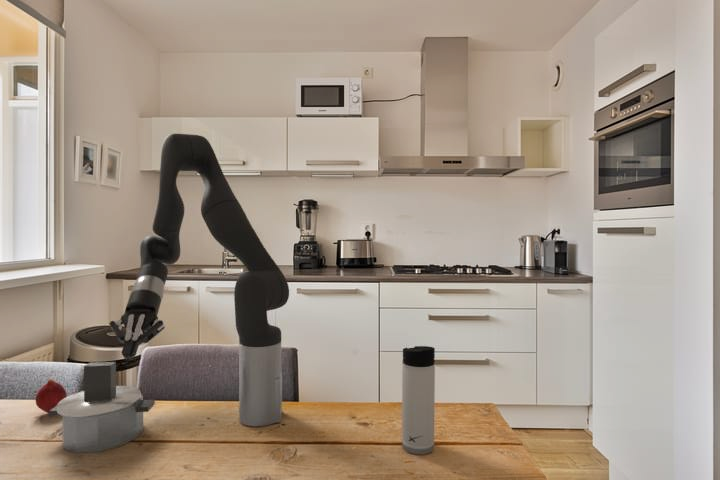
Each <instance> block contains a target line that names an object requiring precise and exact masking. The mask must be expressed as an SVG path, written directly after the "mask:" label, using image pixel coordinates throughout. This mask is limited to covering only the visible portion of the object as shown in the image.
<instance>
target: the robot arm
mask: <svg viewBox="0 0 720 480" xmlns="http://www.w3.org/2000/svg"><path fill="white" fill-rule="evenodd" d="M162 143H163V144H162V146H161V153H160V155H161V156H160V164H159V165H160V166H159V167H160V168H159V182H158V183H159V184H158V186H159V188H158V200H157V205H156V211H155V215H154V218H153V223H152V231H153V232H154V234H155V235H148V236H146V237H144V238H143V239H142V241H141V243H140V249H139V251H140V252H139V253H140V267H139V271H138V274H137V277H136V280H135V282H134V284H133V286H132V288H131V292H130V294H129V298H128V300H127V303H126V307H125V310H124V313H123V314H122V315H121V317H120V319H118V320H116V321H114V320H111V321H109V325H110V328H111V330H112V331H113V333H114V334H115V336H116V337H117V339H118V341H119V343H120V344H123V347H122V350H121V355H122V356H123V358H124V359H125V360H132V359H133V358H134V357H136V356H137V352H138V349H139V346H140V345H141V344H147V343H149V342H150V341H151V340H152V339H153V338H155V337H156V336H157V335H158V334H160V333H161V332H162V331H163V330H164V329H165V328H166V327H165V323H164V322H163V320H161V319H159V317H158V314H159V311H160V306H161V304H162V300H163V298H164V291H165V285H166V282H167V278H168V273H169V269H168V267H167V265H174V264H175V263H177V262H178V260H179V259H180V256H181V242H180V241H181V240H180V231H181V227H182V223H183V220H184V216H185V205H184V204H185V203H184V201H183V198H182V197H181V194H180V192H179V189H178V185H177V178H178V175H179V172H197V173H198V175H199V176H200V177H201V180H202V181H203V184H204V190H203V191H204V192H203V195H202V200H201V205H200V212H201V213H200V214H201V216H202V219H203V222H204V224H206V227H207V229H208V231H209V233H210V234H211V236H212V237H213V238H214V240H215V241H216V242H218V244H220V245H221V246H222V247H223V248H225V250H227V251H228V252H229V253H231V254H232V255H233V256H234V257H236V258H237V259H238V260H239V261H240V262H241V263H242V264H243V265H244V266H245V269H246V270H247V271H246V272H243V273H242V274H241V275H239V276H238V277H237V280H236V282H235V286H234V292H233V293H234V316H235V317H234V318H235V327H236V332H237V335H238V338H239V339H238V342H239V343H238V347H239V348H238V351H239V352H238V356H239V358H238V359H239V360H238V361H239V362H238V363H239V365H238V367H239V368H238V369H239V370H238V373H239V376H238V377H239V378H238V384H239V385H238V388H239V389H238V391H239V393H238V394H239V395H238V396H239V397H238V403H239V404H238V405H239V406H238V407H239V409H238V413H239V415H238V416H239V417H238V419H239V422H240V423H241V424H242V425H245V426H247V427H265V426H269V425H272V424H273V425H274V424H276V423H277V424H278V423H281V421H282V413H283V372H282V331H281V328H280V327H278V326H276V325H271V324H270V323H269V321H268V312H269V311H272V310H277V309H279V308H282V307H284V306H285V305H286V304H287V302H288V300H289V298H290V297H289V296H290V288H289V287H290V286H289V283H288V281H287V279H286V276H285V275H284V272H282V270H281V269H280V267H279V266H278V264H277V263H276V262H275V260H274V259H273V258H272V256H271V255H270V254H269V253H270V252H268V251H267V249H266V248H265V246H264V244H263V243H262V241H261V240H260V238H259V236H258V234H257V233H256V231H255V229H254V228H253V226H252V224H251V221H249V218H248V217H247V214H246V212H245V210H244V209H243V207H242V206H241V204H240V202H239V200H238V199H237V196H236V195H235V193H234V192H233V190H232V188H231V186H230V184H229V182H228V180H227V178H226V177H225V175H224V172H223V170H222V168H221V165H220V163H219V160H218V158H217V155H216V153H215V150H214V148H213V146H212V144H211V143H210V142H209V139H207V138H206V137H205V136H202V135H199V134H191V133H190V134H188V133H170V134H168V135H167V136H166V137H165V139H164V141H163V142H162ZM156 235H157V236H156ZM122 326H124V328H125V335H124V334H123V333H122V328H123V327H122Z"/></svg>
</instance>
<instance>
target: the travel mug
mask: <svg viewBox="0 0 720 480" xmlns="http://www.w3.org/2000/svg"><path fill="white" fill-rule="evenodd" d="M435 351H436V348H435V347H433V346H426V345H421V346H419V345H417V346H416V345H415V346H414V347H404V348H403V349H402V364H401V365H402V371H401V372H402V377H401V378H402V379H401V380H402V382H401V383H402V384H401V388H402V389H401V390H402V391H401V410H402V411H401V447H402V449H403V450H404V451H405V452H407V453H410V454H413V455H420V456H421V455H423V456H424V455H427V454H430V453H431V452H433V451H434V449H435V394H436V393H435V391H436V387H435V385H436V384H435V382H436V378H435V377H436V374H435V373H436V365H435V364H436V363H435V362H436V361H435V358H436V357H435V355H436V354H435Z"/></svg>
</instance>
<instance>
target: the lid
mask: <svg viewBox="0 0 720 480" xmlns="http://www.w3.org/2000/svg"><path fill="white" fill-rule="evenodd" d="M141 394H142V392H141V390H140V389H138V388H137V387H133V386H129V385H128V386H127V385H117V362H116V361H107V362H106V361H102V362H99V361H95V362H88V363H87V364H86V365H83V390H80V391H79V392H75V393H73V394H70V395H68V396H66V398H64V399H62V400H61V401H60V402H59V403H58V404H57V413H58V414H60V415H59V416H61V417H62V416H65V417H72V418H84V417H94V416H101V415H106V414H110V413H114V412H117V411H120V410H123V409H126V408H128V407H130V406H132V405H134V404H135V403H137V402H138V401H139V400H140V398H141Z"/></svg>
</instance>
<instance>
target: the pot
mask: <svg viewBox="0 0 720 480" xmlns="http://www.w3.org/2000/svg"><path fill="white" fill-rule="evenodd" d="M155 403H156V399H153V398H152V399H144V396H143V394H142V393H141V398H140V400H139V401H138V402H137V403H135V404H134V405H132V406H130V407H128V408H126V409H123V410H120V411H117V412H114V413H110V414H106V415H101V416H94V417H84V418H72V417H65V416H62V415H60V414H58V413H57V406H56V407H54V408H53V409H51V410H50V414H49V417H53V416H56V417H57V416H61V417H62V418H61V419H62V420H61V421H62V422H61V424H62V425H61V426H62V428H61V430H62V446H63V450H67V451H69V452H74V453H77V454H78V453H79V454H80V453H99V452H101V451H103V452H104V451H106V450H109V449H110V450H111V449H114V448H118V447H121V446H123V445H125V444H127V443H128V442H131V441H133V440H135V439H137V438H138V437H139V435H141V433H142V432H143V431H144V413H145V412H147V413H149V411H150V410H151V409H152V408H153V407H154V406H155V405H156V404H155Z"/></svg>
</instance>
